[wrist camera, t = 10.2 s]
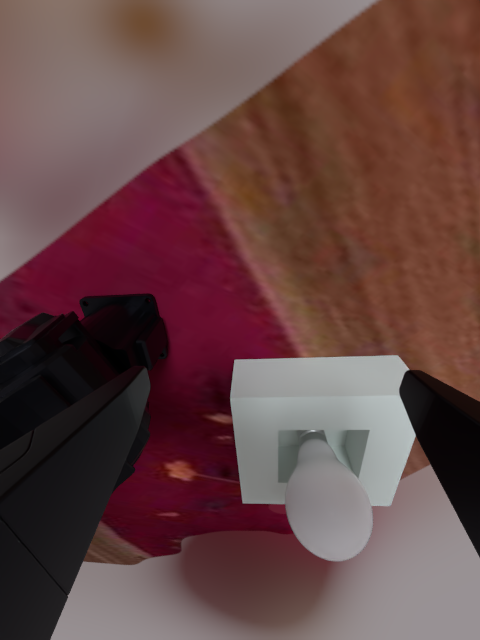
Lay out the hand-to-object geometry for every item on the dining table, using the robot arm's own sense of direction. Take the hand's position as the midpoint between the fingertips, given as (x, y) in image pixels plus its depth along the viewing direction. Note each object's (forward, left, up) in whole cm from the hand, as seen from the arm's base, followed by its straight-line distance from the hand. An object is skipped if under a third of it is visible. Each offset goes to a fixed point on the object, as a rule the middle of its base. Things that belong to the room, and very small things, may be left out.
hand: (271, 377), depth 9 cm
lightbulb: (+4, -16, -12) cm, 21 cm away
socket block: (+5, -16, -13) cm, 21 cm away
